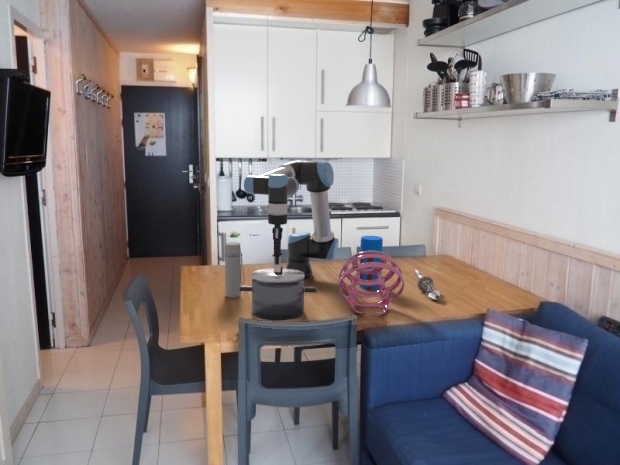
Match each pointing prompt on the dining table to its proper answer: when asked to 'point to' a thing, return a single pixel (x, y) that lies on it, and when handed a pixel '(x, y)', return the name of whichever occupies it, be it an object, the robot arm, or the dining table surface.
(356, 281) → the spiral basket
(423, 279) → the spaceship
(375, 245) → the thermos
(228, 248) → the water bottle
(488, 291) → the dining table surface
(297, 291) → the pot
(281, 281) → the lid
